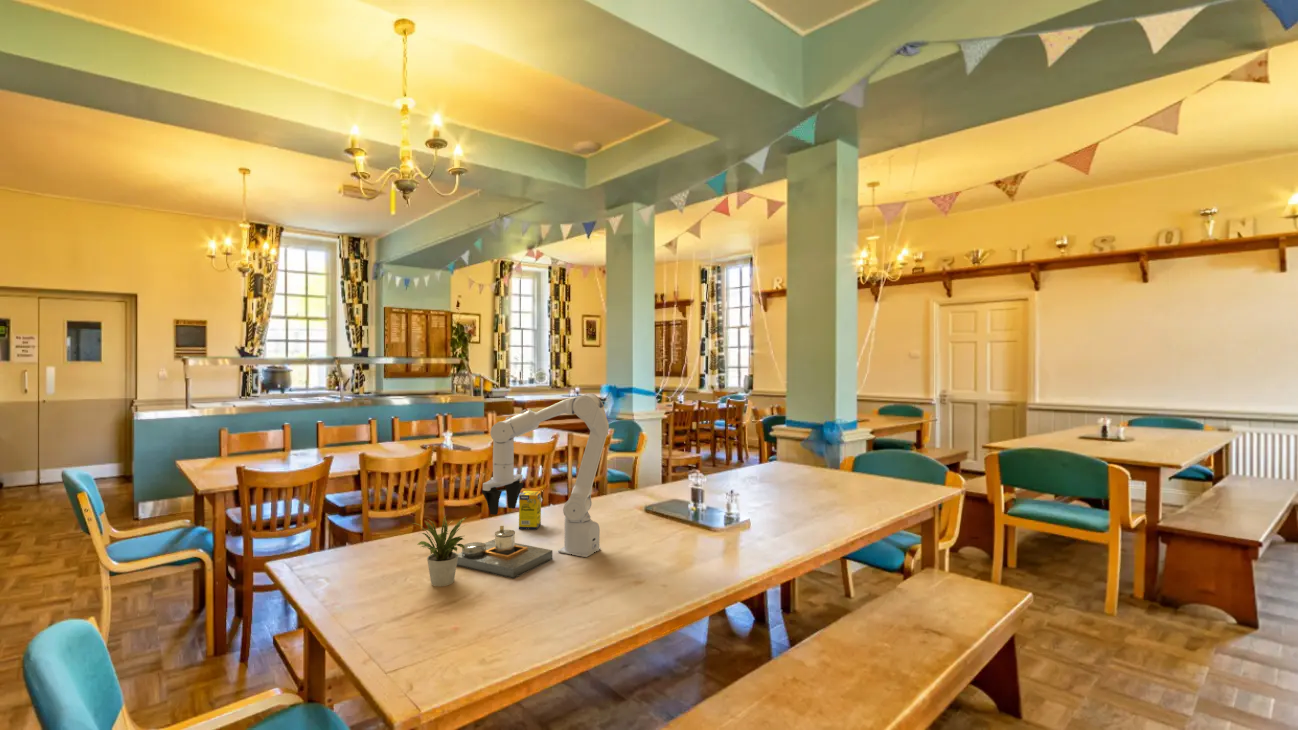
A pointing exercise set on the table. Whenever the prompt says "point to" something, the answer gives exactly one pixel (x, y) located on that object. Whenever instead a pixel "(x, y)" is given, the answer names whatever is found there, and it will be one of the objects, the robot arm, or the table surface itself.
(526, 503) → the supplement box
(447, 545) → the house plant
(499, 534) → the spout can
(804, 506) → the table surface
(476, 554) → the grey block with opening
